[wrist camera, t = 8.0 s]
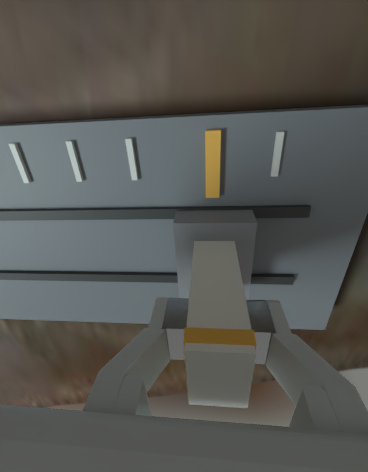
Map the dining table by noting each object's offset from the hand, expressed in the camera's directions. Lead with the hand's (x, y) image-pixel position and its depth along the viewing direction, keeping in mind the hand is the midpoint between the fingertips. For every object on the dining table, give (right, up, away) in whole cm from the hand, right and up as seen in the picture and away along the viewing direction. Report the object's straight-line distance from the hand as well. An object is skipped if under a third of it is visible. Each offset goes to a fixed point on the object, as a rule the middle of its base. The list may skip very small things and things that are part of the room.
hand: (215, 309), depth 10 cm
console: (-6, +3, +6) cm, 10 cm away
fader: (0, +2, +4) cm, 4 cm away
